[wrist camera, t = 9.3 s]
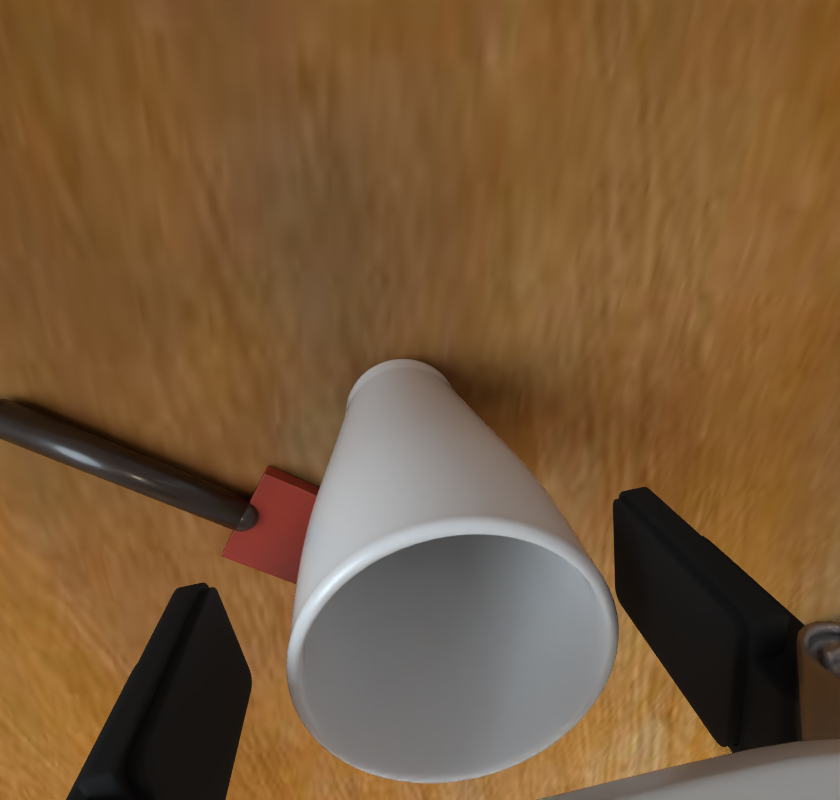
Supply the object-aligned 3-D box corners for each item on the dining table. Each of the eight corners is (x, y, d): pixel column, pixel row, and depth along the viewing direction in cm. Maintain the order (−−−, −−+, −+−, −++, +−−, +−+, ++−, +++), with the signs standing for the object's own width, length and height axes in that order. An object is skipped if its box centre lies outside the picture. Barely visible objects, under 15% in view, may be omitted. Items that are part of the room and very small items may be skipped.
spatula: (-24, 450, 22) (-52, 466, 20) (11, 352, 20) (-17, 361, 19) (368, 599, 27) (369, 621, 25) (414, 528, 26) (418, 547, 24)
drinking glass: (483, 354, 23) (677, 541, 9) (451, 478, 25) (567, 793, 11) (343, 327, 22) (307, 494, 8) (321, 460, 24) (260, 786, 10)
